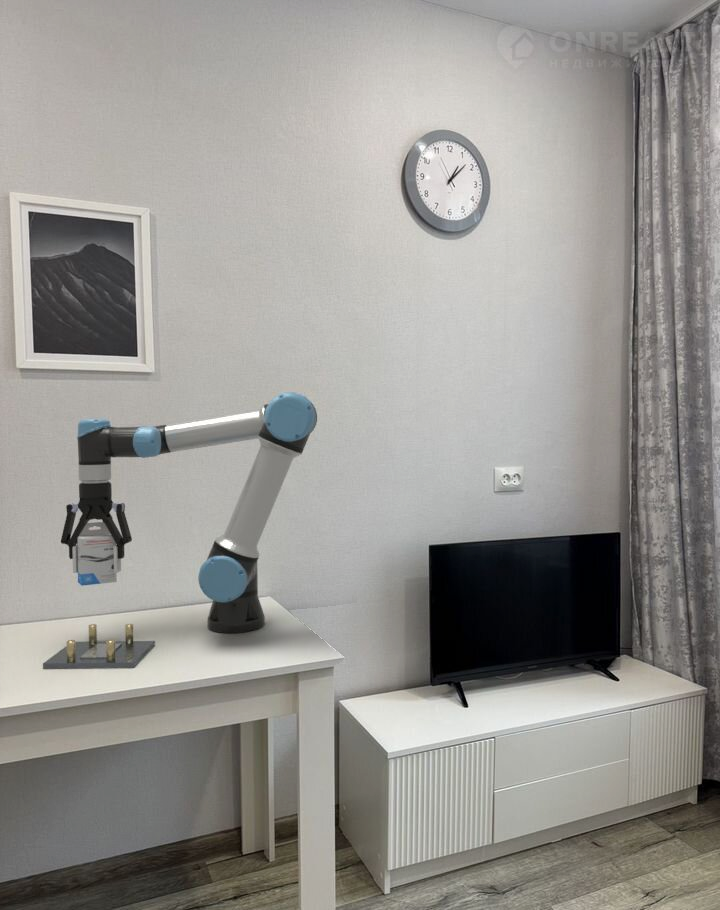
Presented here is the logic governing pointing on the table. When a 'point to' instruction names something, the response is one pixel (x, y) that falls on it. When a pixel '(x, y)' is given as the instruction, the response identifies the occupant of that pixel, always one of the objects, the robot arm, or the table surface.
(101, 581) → the ink box
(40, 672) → the table surface
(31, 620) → the table surface
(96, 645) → the plate
